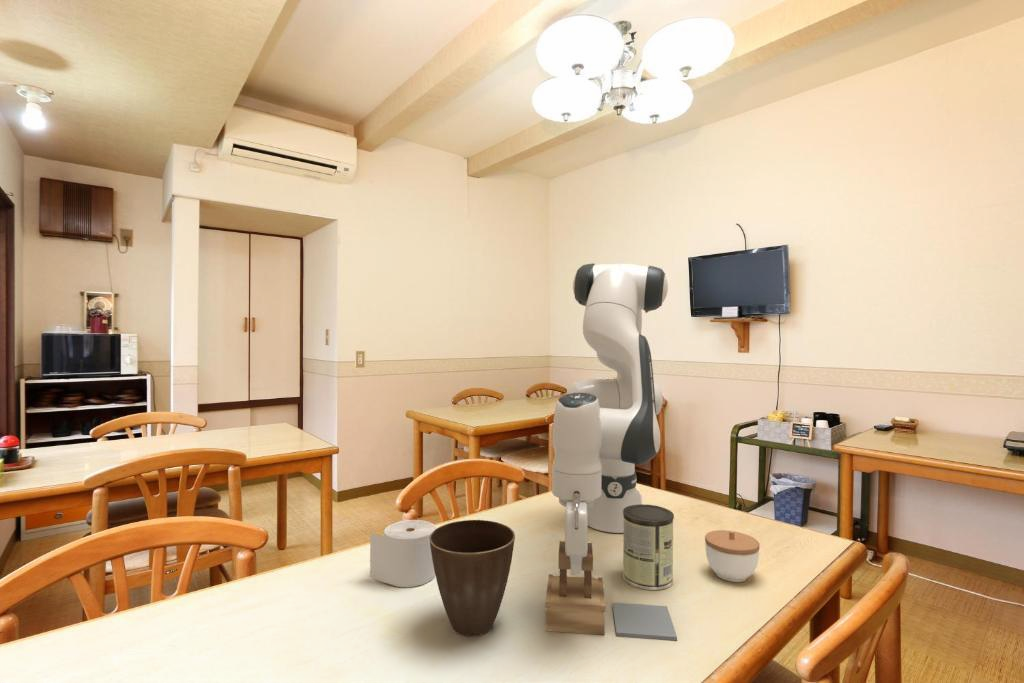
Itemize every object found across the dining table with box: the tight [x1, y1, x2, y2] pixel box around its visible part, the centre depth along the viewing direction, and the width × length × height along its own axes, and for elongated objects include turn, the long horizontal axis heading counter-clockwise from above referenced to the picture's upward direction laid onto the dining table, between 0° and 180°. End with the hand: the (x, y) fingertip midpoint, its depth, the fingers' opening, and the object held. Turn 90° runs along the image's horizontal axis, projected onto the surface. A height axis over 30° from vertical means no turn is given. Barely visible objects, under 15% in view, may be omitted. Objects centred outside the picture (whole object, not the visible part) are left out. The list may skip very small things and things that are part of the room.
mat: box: [611, 602, 678, 641], centre depth 94 cm, size 10×10×1 cm
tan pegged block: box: [557, 540, 594, 599], centre depth 95 cm, size 6×6×8 cm
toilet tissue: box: [369, 519, 437, 588], centre depth 110 cm, size 11×12×10 cm
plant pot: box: [429, 519, 516, 637], centre depth 92 cm, size 15×15×16 cm
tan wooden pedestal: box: [545, 573, 606, 636], centre depth 95 cm, size 10×10×5 cm
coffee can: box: [622, 503, 675, 591], centre depth 110 cm, size 10×10×14 cm
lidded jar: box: [704, 529, 760, 583], centre depth 112 cm, size 11×11×9 cm
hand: (575, 560), depth 95 cm, fingers open, 8 cm apart
